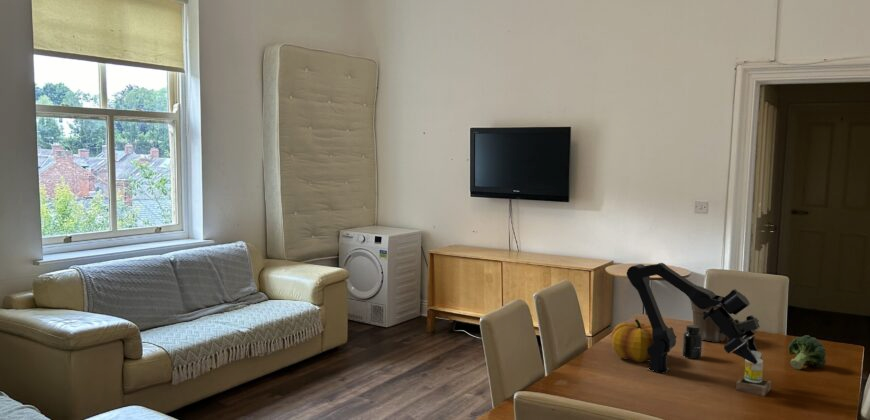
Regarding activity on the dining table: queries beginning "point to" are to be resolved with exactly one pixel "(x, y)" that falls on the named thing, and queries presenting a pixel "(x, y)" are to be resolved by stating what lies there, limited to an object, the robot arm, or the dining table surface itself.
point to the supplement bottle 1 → (692, 342)
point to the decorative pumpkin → (632, 340)
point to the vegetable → (807, 352)
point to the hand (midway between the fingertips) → (758, 361)
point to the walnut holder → (753, 387)
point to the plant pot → (706, 324)
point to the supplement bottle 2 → (754, 369)
